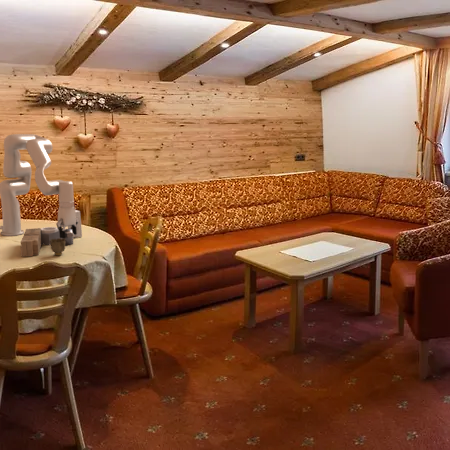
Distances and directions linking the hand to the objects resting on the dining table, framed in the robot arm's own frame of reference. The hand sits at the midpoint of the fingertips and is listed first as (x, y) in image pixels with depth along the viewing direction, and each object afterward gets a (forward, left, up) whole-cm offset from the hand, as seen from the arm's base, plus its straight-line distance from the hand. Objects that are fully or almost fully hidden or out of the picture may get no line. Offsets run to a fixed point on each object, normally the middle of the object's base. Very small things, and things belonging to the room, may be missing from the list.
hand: (68, 236), depth 272 cm
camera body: (-12, 0, -5) cm, 13 cm away
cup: (+10, -21, -5) cm, 23 cm away
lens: (0, 0, -5) cm, 5 cm away
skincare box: (-9, +18, -5) cm, 21 cm away
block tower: (-10, -17, -5) cm, 20 cm away
